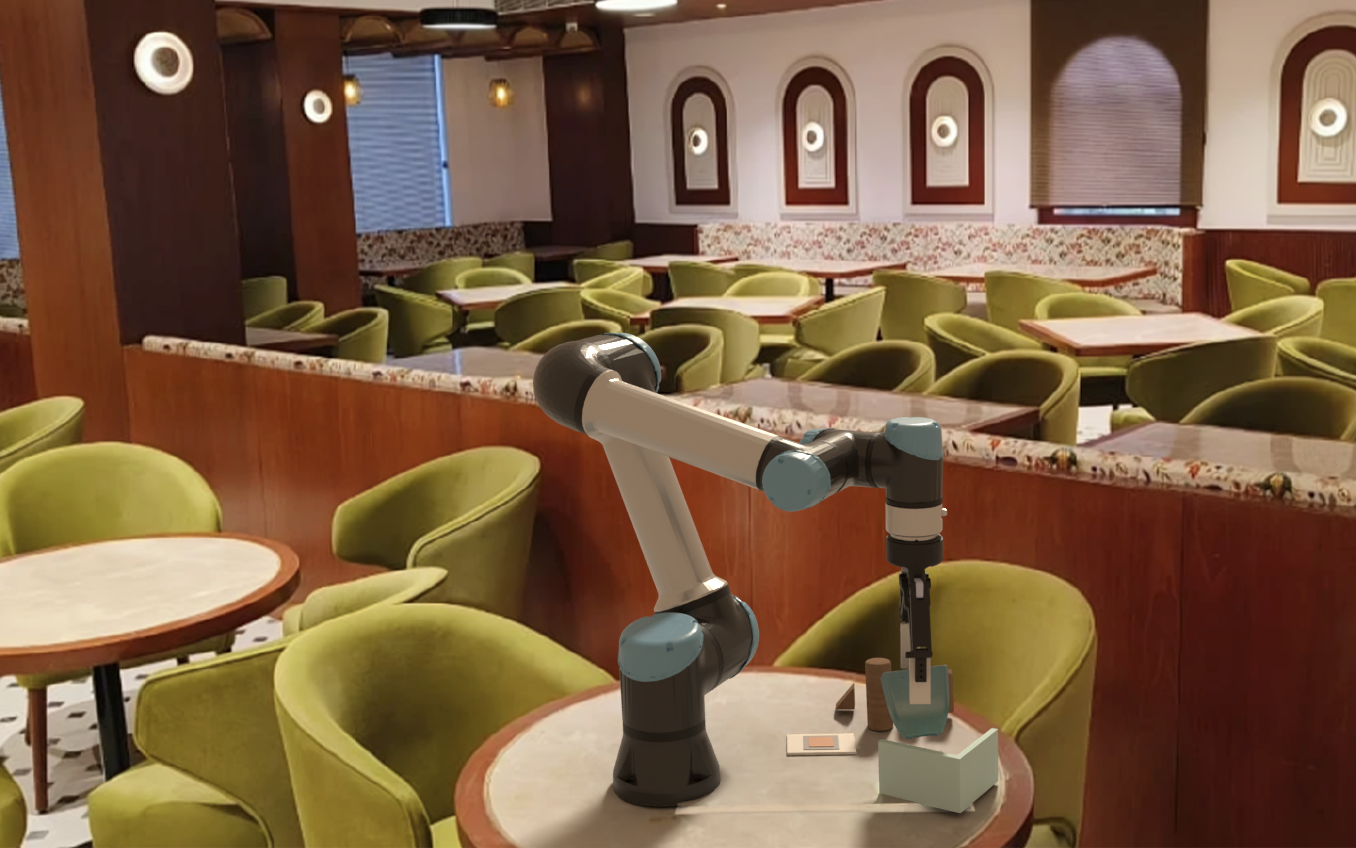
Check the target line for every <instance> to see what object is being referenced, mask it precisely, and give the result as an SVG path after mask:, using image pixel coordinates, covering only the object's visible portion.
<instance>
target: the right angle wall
mask: <svg viewBox="0 0 1356 848" xmlns="http://www.w3.org/2000/svg"><path fill="white" fill-rule="evenodd" d="M877 744H878V745H877V746H878V747H877V748H878V749H877V750H878V751H877V752H878V754H877V755H878V757H877V758H878V791H879V793H878V794H881V795H886V796H888V797H893V798H897V799H901V800H904V801H905V800H906V801H909V802H910V801H911V802H914V803H916V804H919V805H925V806H927V807H933V808H935V809H936V808H937V809H940V810H944V811H949V812H954V813H956V814H957V813H958V814H961V813H963V812H964V811H966V809H967V808H968V807H970V806H972V804H973V803H974V802H975V801H976V800H978V799H979V798H980V797H981V796H983V795H984V794H985V793H986V792H987V791H988V790H990V789H991V788H992V787H993V786H995V784H997V783H998V782H999V729H998V728H994V727H991V728H990V729H989V730H988V731H986V732H984V733H983V734H982V735H981V736H979V737H978V738H977V739H976V740H975V741H973V742H972V743H970V744H969V745H968V746H967V747H965V748H964V749H963V750H961V751H960V752H959V753H958V754H954V753H950V752H949V753H948V752H944V751H941V750H935V749H932V748H931V749H930V748H927V747H926V748H925V747H921V746H916V745H912V744H907V743H902V742H897V741H893V740H888V739H883V738H881V739H880V740H878V741H877Z"/></svg>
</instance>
